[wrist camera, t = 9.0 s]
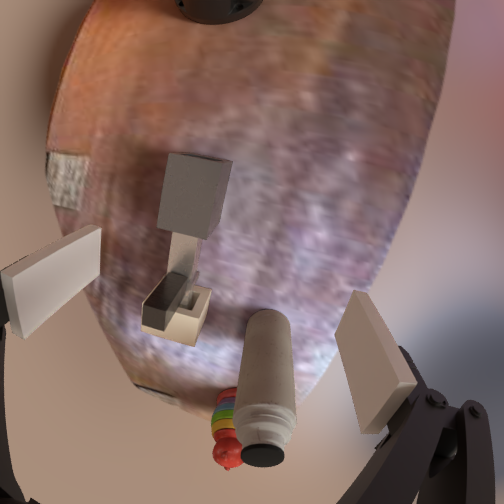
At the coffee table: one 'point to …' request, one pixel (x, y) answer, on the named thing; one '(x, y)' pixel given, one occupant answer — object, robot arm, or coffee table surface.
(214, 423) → the stacking bear
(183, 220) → the grey block
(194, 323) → the socket block
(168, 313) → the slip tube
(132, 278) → the coffee table surface
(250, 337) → the thermos bottle
